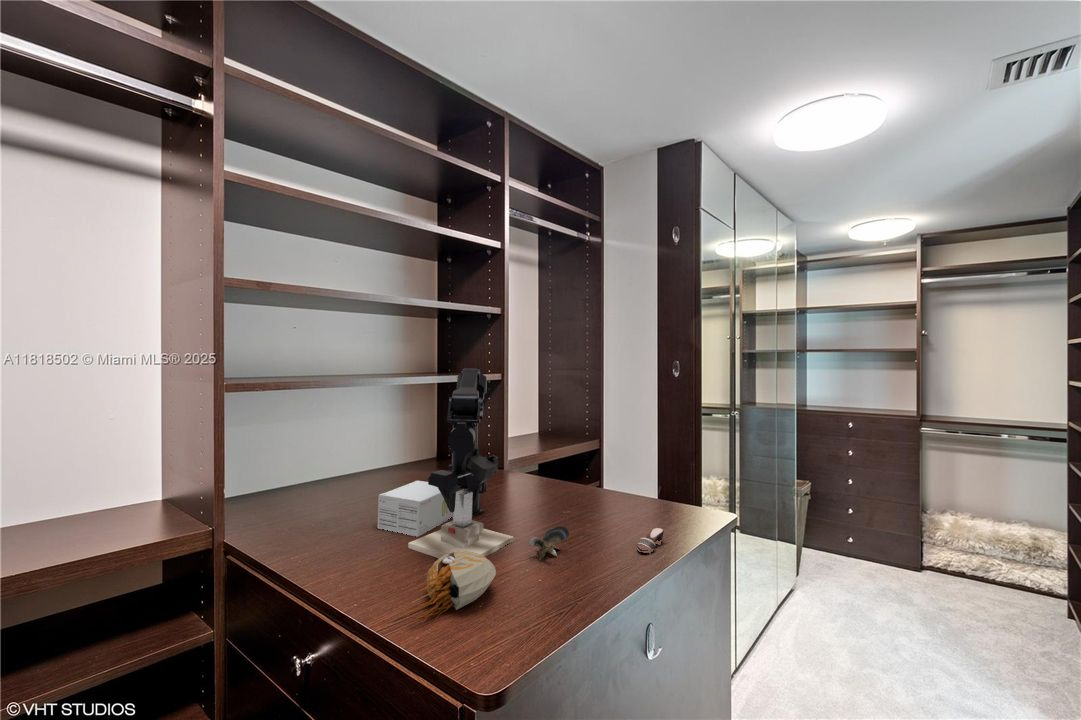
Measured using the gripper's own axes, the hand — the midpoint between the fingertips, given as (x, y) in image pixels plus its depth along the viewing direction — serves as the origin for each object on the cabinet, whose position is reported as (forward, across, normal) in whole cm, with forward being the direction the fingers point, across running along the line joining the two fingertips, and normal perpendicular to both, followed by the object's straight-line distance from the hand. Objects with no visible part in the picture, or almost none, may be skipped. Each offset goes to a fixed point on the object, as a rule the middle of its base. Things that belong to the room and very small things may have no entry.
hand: (462, 508), depth 120 cm
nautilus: (+9, -22, -16) cm, 28 cm away
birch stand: (+9, 0, 0) cm, 9 cm away
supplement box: (+10, +4, +20) cm, 22 cm away
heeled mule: (+9, +26, -38) cm, 47 cm away
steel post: (+8, 0, 0) cm, 8 cm away
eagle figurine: (+9, +7, -21) cm, 24 cm away
